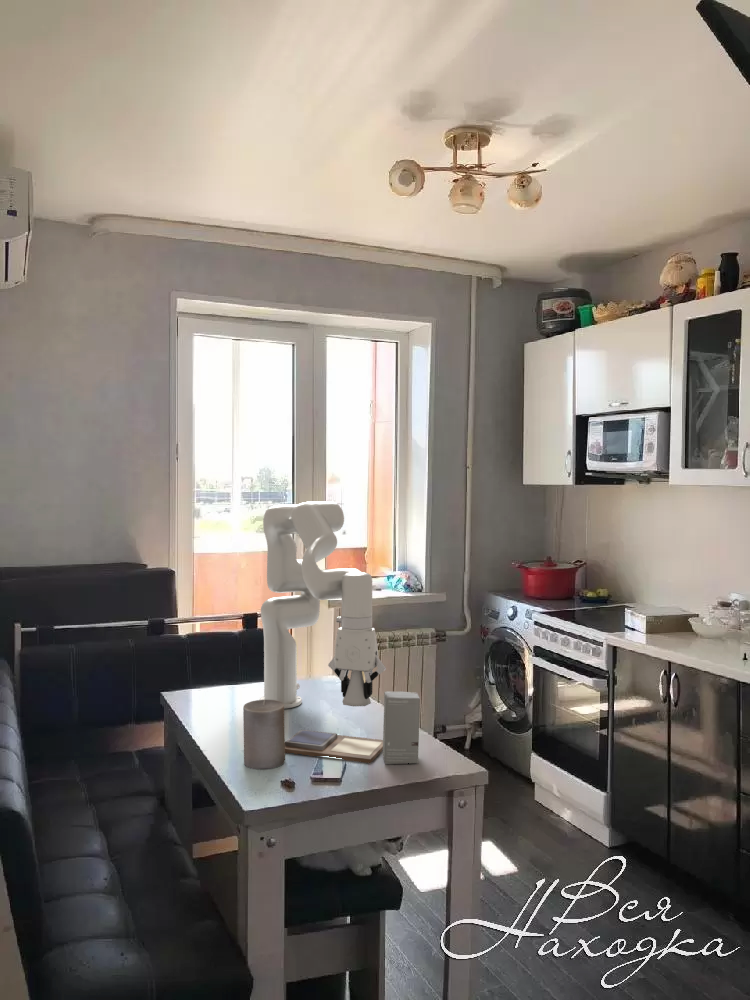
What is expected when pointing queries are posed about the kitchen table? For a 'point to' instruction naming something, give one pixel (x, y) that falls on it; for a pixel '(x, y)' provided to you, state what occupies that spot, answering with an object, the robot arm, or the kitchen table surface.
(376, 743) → the board
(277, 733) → the pillar candle
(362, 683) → the flask
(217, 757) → the kitchen table surface
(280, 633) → the robot arm
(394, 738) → the skincare box
